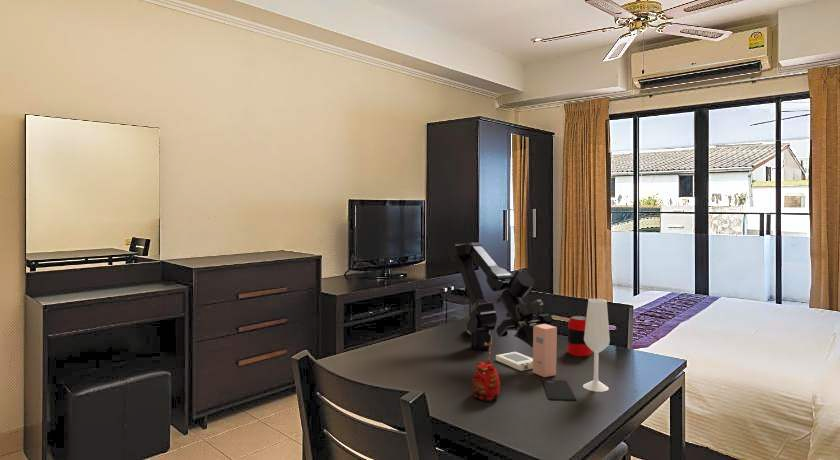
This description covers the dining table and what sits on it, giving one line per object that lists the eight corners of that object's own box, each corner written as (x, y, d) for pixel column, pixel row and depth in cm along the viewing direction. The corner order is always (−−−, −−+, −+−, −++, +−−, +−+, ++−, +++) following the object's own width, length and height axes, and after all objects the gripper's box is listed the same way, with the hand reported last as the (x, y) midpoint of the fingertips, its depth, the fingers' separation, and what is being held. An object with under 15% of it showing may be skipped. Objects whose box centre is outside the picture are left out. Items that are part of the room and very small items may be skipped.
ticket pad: (495, 360, 165) (495, 354, 165) (515, 356, 169) (515, 351, 169) (520, 370, 154) (520, 365, 154) (541, 366, 158) (541, 361, 158)
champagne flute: (592, 392, 137) (594, 303, 135) (577, 384, 143) (579, 298, 142) (614, 390, 139) (616, 302, 137) (598, 381, 145) (600, 297, 144)
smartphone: (578, 402, 131) (566, 382, 146) (578, 399, 131) (566, 379, 146) (548, 402, 132) (539, 381, 146) (548, 398, 131) (539, 378, 146)
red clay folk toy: (466, 396, 134) (466, 339, 133) (483, 389, 139) (483, 334, 138) (489, 405, 128) (490, 345, 128) (506, 397, 133) (506, 340, 133)
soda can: (586, 358, 167) (587, 321, 167) (564, 354, 172) (564, 318, 171) (594, 352, 173) (595, 317, 173) (572, 348, 178) (573, 314, 177)
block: (532, 372, 152) (533, 325, 151) (544, 369, 154) (545, 323, 154) (544, 377, 148) (545, 329, 147) (556, 374, 150) (557, 327, 149)
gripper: (502, 293, 153) (526, 338, 143) (549, 288, 162) (575, 330, 153) (486, 314, 160) (508, 359, 151) (532, 309, 169) (556, 350, 160)
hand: (538, 349), depth 153 cm, fingers closed, pressing on block
